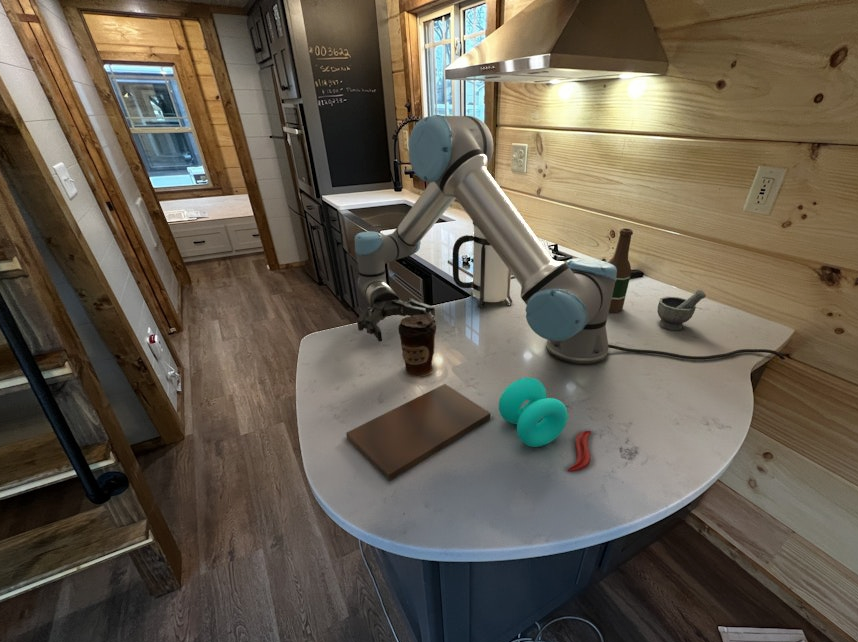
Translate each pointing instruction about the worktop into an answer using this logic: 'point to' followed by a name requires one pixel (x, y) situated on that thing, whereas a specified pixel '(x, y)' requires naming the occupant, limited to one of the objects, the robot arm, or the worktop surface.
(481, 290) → the coffee press
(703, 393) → the worktop surface
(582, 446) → the cayenne pepper
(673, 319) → the mortar and pestle
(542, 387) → the donuts
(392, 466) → the walnut board
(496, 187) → the robot arm
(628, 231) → the beer bottle
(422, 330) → the coffee cup
